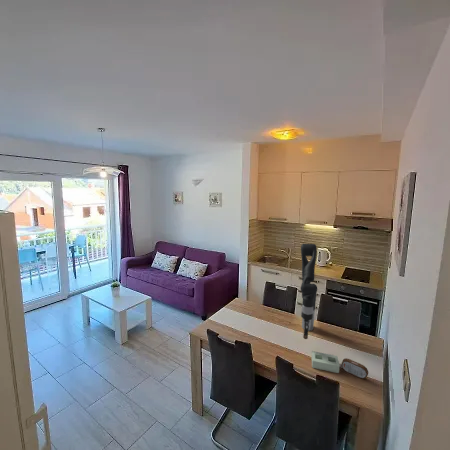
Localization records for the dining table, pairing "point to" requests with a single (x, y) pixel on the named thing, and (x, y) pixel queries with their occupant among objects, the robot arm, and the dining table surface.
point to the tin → (354, 368)
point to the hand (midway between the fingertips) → (305, 333)
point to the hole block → (325, 362)
